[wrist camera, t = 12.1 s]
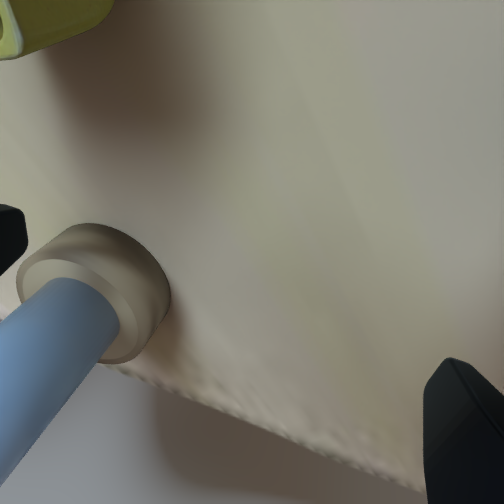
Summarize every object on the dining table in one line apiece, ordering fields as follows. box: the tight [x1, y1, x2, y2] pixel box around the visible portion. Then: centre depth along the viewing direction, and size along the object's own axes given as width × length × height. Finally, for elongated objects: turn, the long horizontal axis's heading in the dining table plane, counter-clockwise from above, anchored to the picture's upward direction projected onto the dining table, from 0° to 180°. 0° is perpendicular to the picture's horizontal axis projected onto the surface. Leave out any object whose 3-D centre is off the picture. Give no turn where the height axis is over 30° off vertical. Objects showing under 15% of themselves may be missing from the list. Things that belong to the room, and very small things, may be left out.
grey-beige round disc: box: [16, 223, 170, 364], centre depth 27 cm, size 9×9×4 cm
